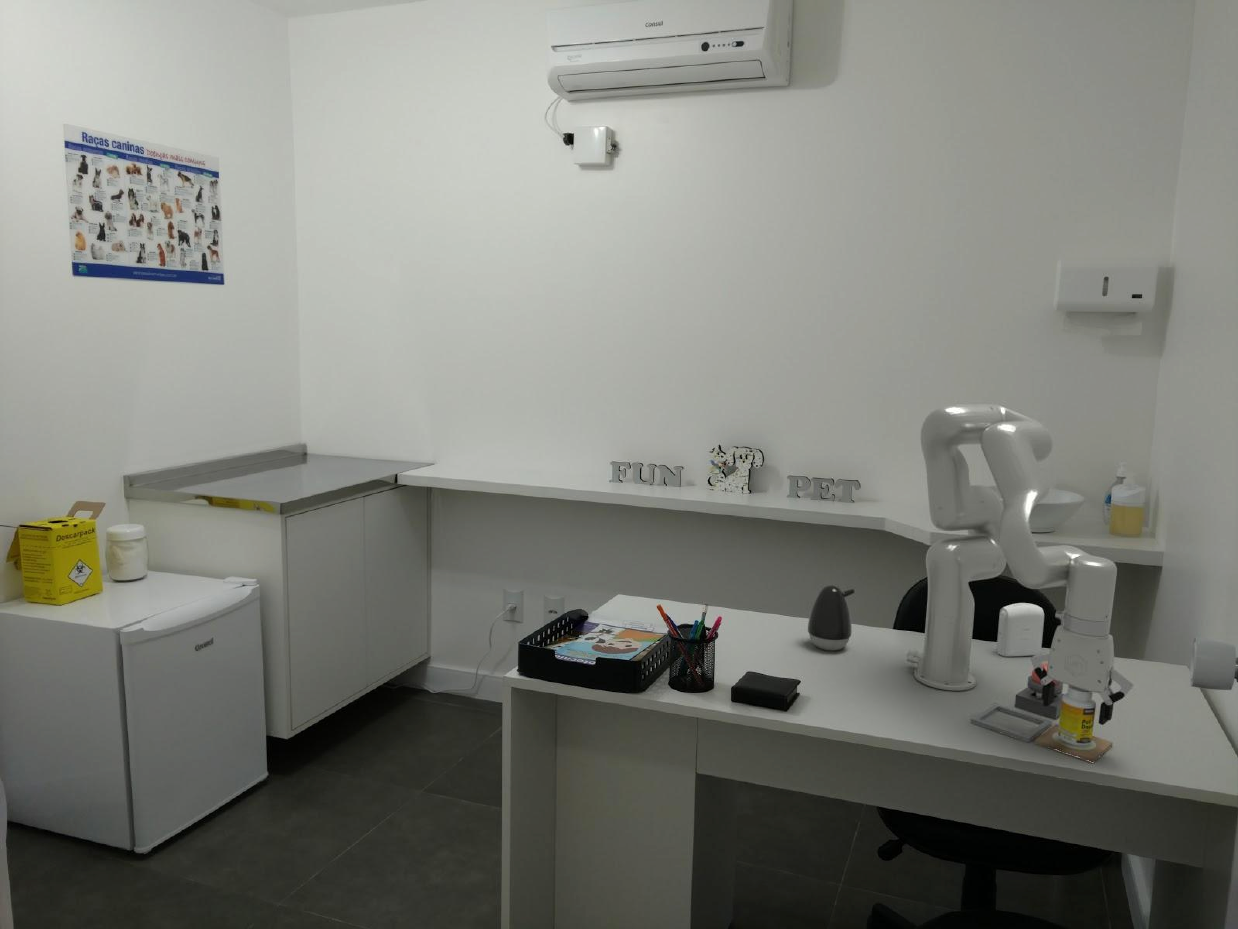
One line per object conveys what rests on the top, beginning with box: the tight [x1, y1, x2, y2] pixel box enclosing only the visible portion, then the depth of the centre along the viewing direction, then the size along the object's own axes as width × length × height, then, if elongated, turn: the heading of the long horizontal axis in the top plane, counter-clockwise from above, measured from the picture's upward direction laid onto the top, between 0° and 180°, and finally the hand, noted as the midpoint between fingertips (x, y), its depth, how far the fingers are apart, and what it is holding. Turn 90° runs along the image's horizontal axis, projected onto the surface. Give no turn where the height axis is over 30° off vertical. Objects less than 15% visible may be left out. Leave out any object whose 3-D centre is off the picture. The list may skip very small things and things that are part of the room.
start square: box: [970, 702, 1053, 743], centre depth 171 cm, size 11×11×1 cm
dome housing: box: [1014, 686, 1065, 720], centre depth 179 cm, size 8×8×2 cm
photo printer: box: [996, 602, 1045, 657], centre depth 208 cm, size 10×4×12 cm, turn 99°
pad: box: [1034, 723, 1114, 763], centre depth 163 cm, size 10×10×1 cm
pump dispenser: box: [807, 584, 856, 651], centre depth 210 cm, size 10×10×15 cm
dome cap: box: [1026, 662, 1064, 699], centre depth 179 cm, size 6×6×8 cm
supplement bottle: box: [1058, 685, 1097, 746], centre depth 162 cm, size 6×6×10 cm
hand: (1075, 713), depth 162 cm, fingers open, 9 cm apart
